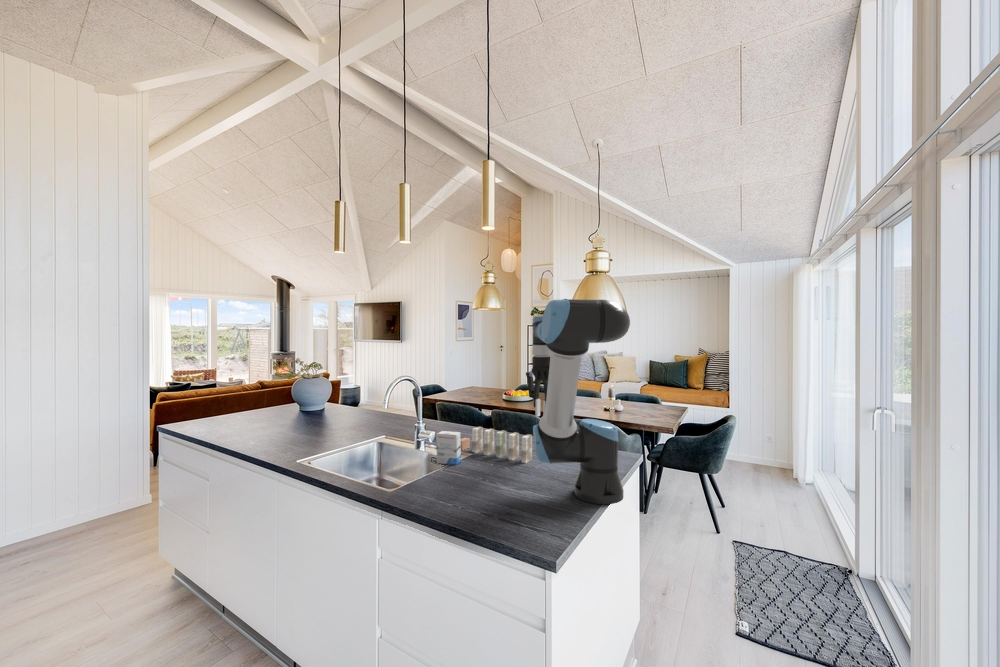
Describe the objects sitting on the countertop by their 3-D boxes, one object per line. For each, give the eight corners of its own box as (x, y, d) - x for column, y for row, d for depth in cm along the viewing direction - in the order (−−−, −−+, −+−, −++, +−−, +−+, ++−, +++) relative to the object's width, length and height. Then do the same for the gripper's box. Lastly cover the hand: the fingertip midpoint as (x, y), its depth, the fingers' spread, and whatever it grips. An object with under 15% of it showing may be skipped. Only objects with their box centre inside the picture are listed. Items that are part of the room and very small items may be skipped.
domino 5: (526, 463, 161) (526, 437, 161) (521, 462, 162) (521, 437, 162) (532, 459, 166) (532, 435, 165) (527, 459, 167) (527, 434, 166)
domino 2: (487, 455, 171) (487, 431, 171) (483, 454, 172) (483, 430, 172) (494, 452, 175) (494, 429, 175) (490, 451, 176) (490, 428, 176)
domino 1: (475, 453, 174) (475, 429, 174) (472, 452, 175) (472, 428, 175) (482, 450, 178) (482, 427, 178) (478, 449, 179) (478, 426, 179)
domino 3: (500, 458, 168) (500, 433, 168) (495, 457, 169) (495, 432, 169) (506, 454, 172) (506, 430, 172) (502, 454, 173) (502, 430, 173)
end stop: (462, 450, 178) (462, 441, 178) (456, 449, 179) (456, 440, 179) (469, 447, 182) (469, 438, 182) (464, 446, 184) (464, 437, 184)
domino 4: (512, 460, 165) (512, 435, 164) (508, 459, 166) (508, 434, 165) (518, 457, 169) (519, 432, 169) (514, 456, 170) (514, 432, 170)
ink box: (461, 461, 163) (461, 431, 163) (456, 465, 158) (456, 435, 158) (441, 459, 166) (441, 430, 166) (435, 463, 161) (435, 433, 161)
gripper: (564, 356, 159) (564, 417, 159) (528, 354, 167) (528, 412, 168) (556, 357, 153) (556, 420, 153) (519, 355, 161) (519, 415, 161)
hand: (541, 416), depth 160 cm, fingers open, 3 cm apart
